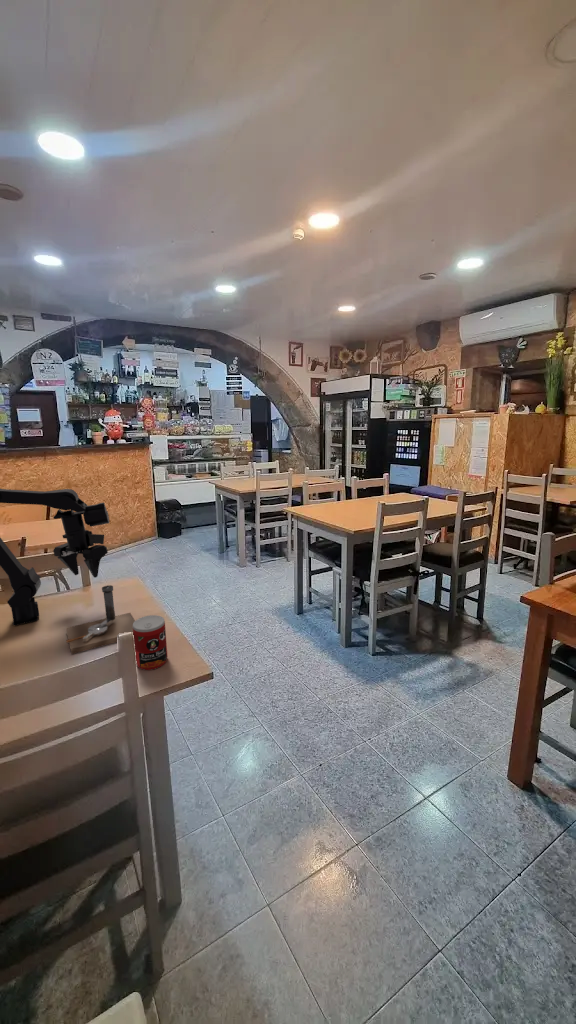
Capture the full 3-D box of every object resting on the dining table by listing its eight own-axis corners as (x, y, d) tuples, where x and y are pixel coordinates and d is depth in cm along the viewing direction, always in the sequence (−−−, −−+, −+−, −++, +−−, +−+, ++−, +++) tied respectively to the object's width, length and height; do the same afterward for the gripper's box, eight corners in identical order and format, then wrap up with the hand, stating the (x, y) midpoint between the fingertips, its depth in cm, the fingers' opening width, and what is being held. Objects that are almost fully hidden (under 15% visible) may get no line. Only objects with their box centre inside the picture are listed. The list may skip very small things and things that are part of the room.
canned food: (138, 674, 101) (134, 632, 99) (134, 658, 108) (130, 618, 106) (170, 665, 104) (167, 625, 102) (164, 650, 111) (161, 612, 109)
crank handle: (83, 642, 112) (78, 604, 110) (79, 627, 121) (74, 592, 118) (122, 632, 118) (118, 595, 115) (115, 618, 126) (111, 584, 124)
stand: (68, 654, 110) (68, 649, 109) (64, 633, 121) (63, 627, 121) (141, 635, 119) (141, 629, 119) (130, 616, 131) (130, 611, 131)
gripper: (116, 522, 132) (126, 568, 136) (78, 521, 141) (88, 564, 145) (85, 533, 123) (97, 582, 127) (47, 531, 132) (59, 577, 135)
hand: (86, 575), depth 134 cm, fingers open, 9 cm apart
